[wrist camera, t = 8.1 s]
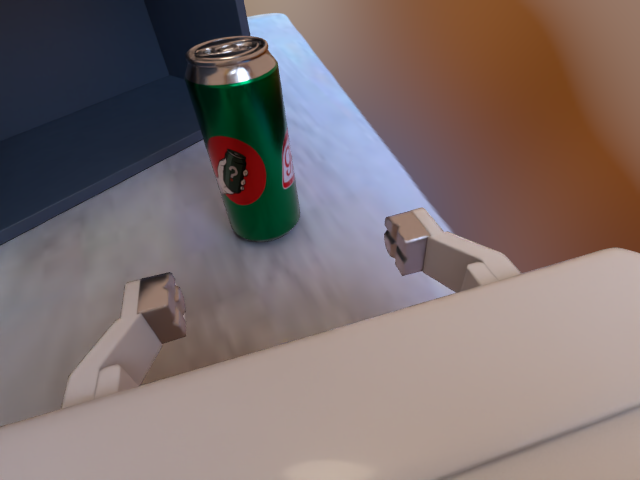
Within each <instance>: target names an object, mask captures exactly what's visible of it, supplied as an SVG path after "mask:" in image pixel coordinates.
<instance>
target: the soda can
mask: <svg viewBox="0 0 640 480" xmlns="http://www.w3.org/2000/svg"><path fill="white" fill-rule="evenodd" d="M185 59H186V61H187V62H188V64H187V69H186V72H185V76H184V80H185V83H186V86H187V89H188V92H189V96H190V99H191V102H192V105H193V108H194V111H195V114H196V117H197V121H198V124H199V127H200V130H201V133H202V136H203V139H204V142H205V146H206V149H207V152H208V155H209V158H210V161H211V164H212V168H213V171H214V174H215V177H216V180H217V183H218V186H219V189H220V193H221V196H222V199H223V202H224V205H225V208H226V211H227V215H228V218H229V221H230V224H231V227H232V229H233V230H234V232H235V233H236V234H238V235H239V236H241V237H243V238H245V239H248V240H251V241H256V242H266V241H272V240H275V239H278V238H280V237H282V236H284V235H286V234H287V233H288V232H289V231H290V230H291V229H292V228H293V227H294V226H295V225H296V223H297V222H298V220H299V217H300V209H299V202H298V195H297V189H296V182H295V175H294V168H293V162H292V155H291V148H290V142H289V135H288V128H287V122H286V115H285V108H284V102H283V95H282V88H281V82H280V75H279V68H278V63H277V61H276V60H275V58H274V57H273V56H272V55H271V53H270V52H269V51H268V43H267V42H266V41H265V40H264V39H262V38H258V37H253V36H233V37H225V38H219V39H214V40H210V41H207V42H204V43H201V44H198V45H196V46H194V47H192V48H191V49H189V50H188V51H187V52H186V54H185Z"/></svg>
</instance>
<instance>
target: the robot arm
mask: <svg viewBox="0 0 640 480" xmlns="http://www.w3.org/2000/svg"><path fill="white" fill-rule="evenodd" d="M385 227H386V228H387V231H386V232H385V234H384V241H385V246H386V249H387V251H388V253H389V255H390V256H391V257H393V258H395V265H396V267H397V268H398V270H399V271H400V273H401V275H402V276H405V275H409V274H412V273H416V272H420V271H423V272H424V273H425V274H427V275H428V276H430V277H432V278H433V279H435V280H437V281H438V282H440V283H441V284H443V285H445V286H446V287H448V288H450V289H451V290H453V291H455V292H456V293H454V294H451V295H448V296H444V297H441V298H437V299H434V300H431V301H427V302H424V303H420V304H417V305H414V306H410V307H407V308H403V309H400V310H396V311H393V312H390V313H386V314H383V315H379V316H376V317H373V318H369V319H366V320H362V321H359V322H355V323H352V324H349V325H345V326H342V327H338V328H335V329H332V330H328V331H325V332H321V333H318V334H315V335H311V336H308V337H304V338H301V339H298V340H294V341H291V342H287V343H284V344H281V345H277V346H274V347H270V348H267V349H264V350H260V351H257V352H253V353H250V354H247V355H243V356H240V357H236V358H233V359H230V360H226V361H223V362H219V363H216V364H212V365H209V366H206V367H202V368H199V369H195V370H192V371H189V372H185V373H182V374H178V375H175V376H172V377H168V378H165V379H161V380H158V381H155V382H151V383H148V384H144V385H141V383H142V381H143V379H144V378H145V376H146V374H147V372H148V370H149V369H150V367H151V365H152V363H153V361H154V360H155V358H156V356H157V354H158V353H159V351H160V349H161V347H162V344H164V343H167V342H170V341H173V340H177V339H180V338H183V337H186V321H185V319H184V317H183V315H184V313H185V312H186V306H185V300H184V296H183V293H182V291H181V289H180V287H178V286H176V285H175V278H174V276H173V274H172V273H171V272H168V273H164V274H160V275H155V276H151V277H147V278H142V279H140V280H135V281H131V282H127V283H126V285H125V287H124V294H123V301H122V308H121V315H120V319H118V320H115V322H114V323H113V324H112V325H111V326H110V327H109V329H108V330H107V331H106V332H105V333H104V335H103V336H102V337H101V338H100V339H99V341H98V342H97V343H96V344H95V345H94V347H93V348H92V349H91V350H90V351H89V353H88V354H87V355H86V356H85V357H84V358H83V360H82V361H81V362H80V363H79V364H78V366H77V367H76V368H75V369H74V370H73V372H72V373H71V374H70V375H69V376H68V381H67V385H66V389H65V394H64V398H63V402H62V406H61V409H59V410H56V411H52V412H49V413H46V414H42V415H39V416H35V417H32V418H29V419H25V420H22V421H18V422H15V423H12V424H8V425H5V426H1V427H0V480H640V253H636V252H633V251H630V250H626V249H622V248H608V249H604V250H600V251H597V252H594V253H590V254H587V255H584V256H581V257H577V258H574V259H571V260H567V261H563V262H560V263H557V264H553V265H550V266H546V267H543V268H539V269H537V270H533V271H530V272H526V273H521V272H520V271H519V270H518V269H517V268H516V267H515V266H514V264H513V263H512V262H511V261H510V260H509V259H508V258H507V257H506V256H505V255H504V254H503V253H500V252H498V251H495V250H493V249H490V248H488V247H485V246H482V245H480V244H478V243H475V242H473V241H470V240H468V239H465V238H462V237H460V236H457V235H455V234H453V233H450V232H444V231H443V230H442V229H441V228H440V227H439V225H438V224H437V223H436V222H435V221H434V219H433V218H432V217H431V216H430V215H429V213H428V212H427V211H426V210H425V209H424V208H418V209H415V210H411V211H408V212H404V213H400V214H396V215H392V216H389V217H386V219H385ZM140 385H141V386H140Z"/></svg>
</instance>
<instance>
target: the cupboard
mask: <svg viewBox="0 0 640 480" xmlns="http://www.w3.org/2000/svg"><path fill="white" fill-rule="evenodd" d="M233 36H250V32H249V26H248V21H247V16H246V10H245V5H244V0H0V245H1V244H3V243H5V242H7V241H9V240H11V239H13V238H15V237H17V236H18V235H20V234H22V233H24V232H26V231H28V230H30V229H32V228H34V227H36V226H38V225H39V224H41V223H43V222H45V221H47V220H49V219H51V218H53V217H55V216H57V215H59V214H60V213H62V212H64V211H66V210H68V209H70V208H72V207H74V206H76V205H78V204H80V203H82V202H83V201H85V200H87V199H89V198H91V197H93V196H95V195H97V194H99V193H101V192H103V191H104V190H106V189H108V188H110V187H112V186H114V185H116V184H118V183H120V182H122V181H124V180H125V179H127V178H129V177H131V176H133V175H135V174H137V173H139V172H141V171H143V170H145V169H146V168H148V167H150V166H152V165H154V164H156V163H158V162H160V161H162V160H164V159H166V158H167V157H169V156H171V155H173V154H175V153H177V152H179V151H181V150H183V149H185V148H187V147H188V146H190V145H192V144H194V143H196V142H198V141H200V140H202V139H203V136H202V133H201V130H200V127H199V124H198V121H197V117H196V114H195V111H194V108H193V105H192V102H191V99H190V96H189V92H188V89H187V86H186V83H185V80H184V76H185V72H186V69H187V64H188V62H187V61H186V59H185V54H186V52H187V51H188V50H189V49H191V48H192V47H194V46H196V45H198V44H201V43H204V42H207V41H210V40H214V39H219V38H225V37H233Z"/></svg>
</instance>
